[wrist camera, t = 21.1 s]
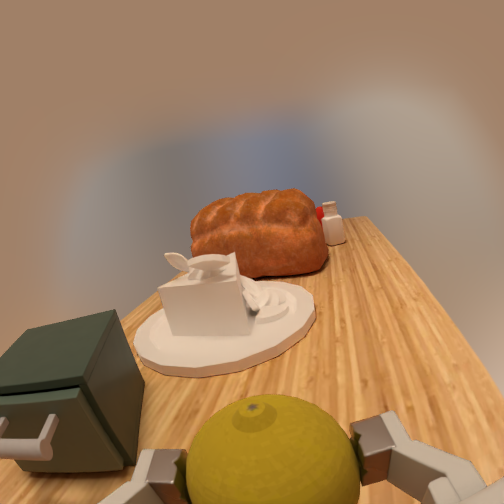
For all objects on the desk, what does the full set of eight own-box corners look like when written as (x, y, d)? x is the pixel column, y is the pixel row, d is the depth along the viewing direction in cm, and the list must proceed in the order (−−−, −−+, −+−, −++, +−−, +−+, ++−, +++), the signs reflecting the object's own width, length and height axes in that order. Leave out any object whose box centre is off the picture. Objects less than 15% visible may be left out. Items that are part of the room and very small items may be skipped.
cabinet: (135, 465, 19) (82, 375, 17) (27, 468, 17) (-28, 388, 15) (144, 382, 30) (115, 308, 28) (59, 396, 28) (26, 329, 27)
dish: (299, 380, 27) (277, 262, 24) (102, 366, 35) (70, 284, 33) (324, 282, 49) (313, 211, 47) (187, 294, 58) (172, 235, 55)
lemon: (280, 602, 5) (217, 540, 4) (202, 524, 10) (123, 402, 8) (383, 518, 8) (406, 384, 6) (295, 465, 13) (267, 332, 11)
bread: (321, 276, 52) (305, 184, 49) (189, 285, 63) (170, 210, 59) (331, 252, 65) (319, 178, 61) (219, 264, 75) (204, 200, 72)
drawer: (119, 511, 13) (59, 439, 12) (10, 503, 11) (-47, 436, 10) (134, 388, 28) (108, 326, 26) (54, 400, 26) (26, 344, 25)
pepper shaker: (330, 246, 69) (323, 204, 67) (324, 243, 73) (317, 203, 71) (346, 242, 70) (339, 201, 67) (340, 239, 73) (333, 200, 71)
